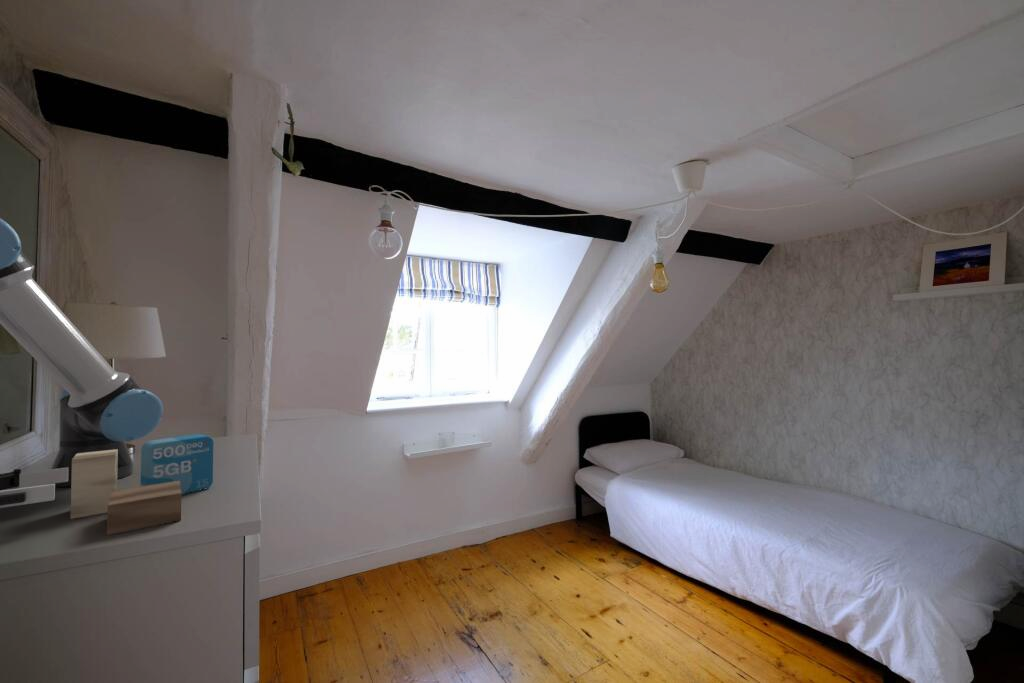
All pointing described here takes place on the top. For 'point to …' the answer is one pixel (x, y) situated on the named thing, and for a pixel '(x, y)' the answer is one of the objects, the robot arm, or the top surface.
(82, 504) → the birch block
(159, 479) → the data package
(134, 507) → the block
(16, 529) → the top surface
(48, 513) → the top surface
